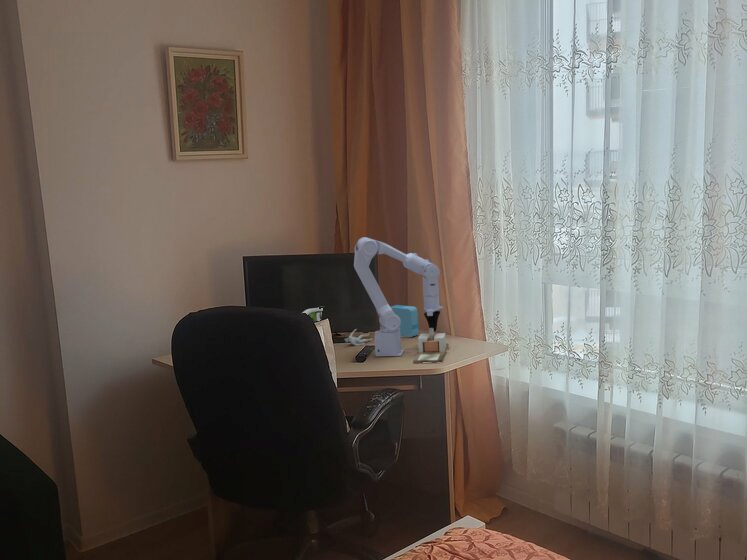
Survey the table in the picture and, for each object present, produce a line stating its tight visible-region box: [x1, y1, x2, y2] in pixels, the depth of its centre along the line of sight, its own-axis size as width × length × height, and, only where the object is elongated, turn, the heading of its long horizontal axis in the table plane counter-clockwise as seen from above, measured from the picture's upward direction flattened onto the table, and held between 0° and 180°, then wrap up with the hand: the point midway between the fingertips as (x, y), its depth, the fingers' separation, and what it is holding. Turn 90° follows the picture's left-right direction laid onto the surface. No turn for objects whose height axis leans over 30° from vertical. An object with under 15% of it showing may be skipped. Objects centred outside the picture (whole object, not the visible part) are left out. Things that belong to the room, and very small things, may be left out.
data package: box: [390, 304, 420, 338], centre depth 307 cm, size 12×4×12 cm, turn 48°
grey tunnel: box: [417, 332, 447, 353], centre depth 277 cm, size 9×8×5 cm
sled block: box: [424, 327, 439, 351], centre depth 276 cm, size 5×6×8 cm
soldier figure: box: [343, 328, 373, 347], centre depth 299 cm, size 8×5×12 cm
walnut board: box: [412, 343, 449, 364], centre depth 274 cm, size 10×24×1 cm, turn 169°
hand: (433, 331), depth 281 cm, fingers closed
